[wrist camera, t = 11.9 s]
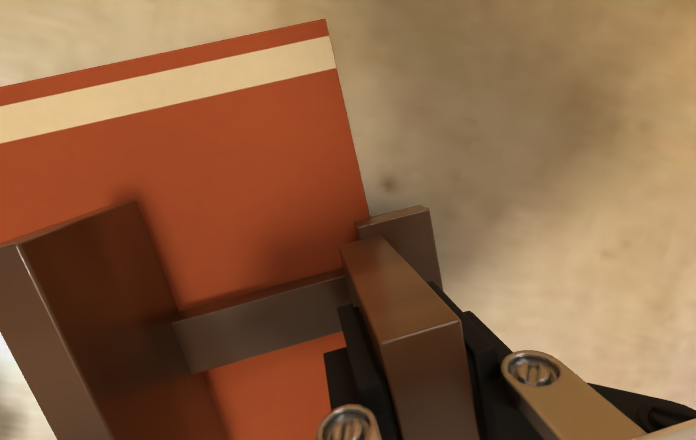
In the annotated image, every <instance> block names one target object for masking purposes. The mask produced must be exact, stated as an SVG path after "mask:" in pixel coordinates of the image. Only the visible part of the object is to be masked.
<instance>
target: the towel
mask: <svg viewBox="0 0 696 440" xmlns="http://www.w3.org/2000/svg"><path fill="white" fill-rule="evenodd" d="M130 200H136V201H137V204H138V206H139V209H140V211H141V214H142V217H143V219H144V222H145V225H146V227H147V230H148V232H149V235H150V238H151V240H152V243H153V245H154V248H155V251H156V253H157V256H158V258H159V261H160V264H161V266H162V269H163V272H164V274H165V277H166V279H167V282H168V285H169V287H170V290H171V292H172V295H173V298H174V300H175V303H176V306H177V308H178V311H179V312H180V311H184V310H187V309H191V308H195V307H198V306H202V305H206V304H209V303H213V302H217V301H220V300H224V299H228V298H232V297H235V296H239V295H243V294H246V293H250V292H254V291H257V290H261V289H265V288H268V287H272V286H276V285H279V284H283V283H287V282H291V281H294V280H298V279H302V278H305V277H309V276H313V275H316V274H320V273H324V272H327V271H331V270H335V269H338V268H342V267H343V264H342V260H341V256H340V252H339V246H340V245H344V244H348V243H351V242H355V241H357V237H356V232H355V228H354V222H356V221H360V220H364V219H368V218H370V215H369V211H368V206H367V202H366V198H365V193H364V189H363V184H362V180H361V175H360V171H359V166H358V162H357V158H356V153H355V149H354V144H353V140H352V135H351V131H350V126H349V122H348V118H347V113H346V109H345V104H344V100H343V95H342V91H341V86H340V82H339V78H338V73H337V69H336V64H335V59H334V55H333V51H332V46H331V42H330V37H329V33H328V29H327V24H326V20H325V19H322V20H317V21H312V22H307V23H303V24H298V25H293V26H288V27H284V28H279V29H274V30H269V31H265V32H260V33H255V34H250V35H246V36H241V37H236V38H231V39H227V40H222V41H217V42H212V43H208V44H203V45H198V46H193V47H189V48H184V49H179V50H174V51H170V52H165V53H160V54H155V55H151V56H146V57H141V58H136V59H132V60H127V61H122V62H117V63H113V64H108V65H103V66H98V67H94V68H89V69H84V70H79V71H75V72H70V73H65V74H60V75H56V76H51V77H46V78H41V79H37V80H32V81H27V82H22V83H18V84H13V85H8V86H3V87H0V243H2V242H5V241H7V240H10V239H13V238H16V237H19V236H22V235H25V234H28V233H30V232H33V231H36V230H39V229H42V228H45V227H48V226H51V225H53V224H56V223H59V222H62V221H65V220H68V219H71V218H74V217H77V216H79V215H82V214H85V213H88V212H91V211H94V210H97V209H100V208H102V207H105V206H109V205H114V204H118V203H122V202H126V201H130ZM343 347H347V346H346V343H345V339H344V335H343V331H342V332H338V333H335V334H331V335H328V336H324V337H321V338H318V339H314V340H311V341H307V342H304V343H300V344H297V345H293V346H290V347H286V348H283V349H279V350H276V351H272V352H269V353H266V354H262V355H259V356H255V357H252V358H248V359H245V360H241V361H238V362H234V363H231V364H227V365H224V366H220V367H217V368H213V369H210V370H207V371H203V372H202V373H203V376H204V379H205V381H206V384H207V387H208V389H209V392H210V394H211V397H212V400H213V402H214V405H215V407H216V410H217V413H218V415H219V418H220V421H221V423H222V426H223V428H224V431H225V434H226V436H227V439H228V440H316V432H317V428H318V425H319V423H320V421H321V420H322V419H323V418H324V416H325V415H326V414H328V413H329V412H330V411H331V406H330V399H329V392H328V385H327V378H326V371H325V364H324V356H323V353H326V352H330V351H333V350H337V349H340V348H343Z"/></svg>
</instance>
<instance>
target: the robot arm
mask: <svg viewBox="0 0 696 440" xmlns="http://www.w3.org/2000/svg"><path fill="white" fill-rule="evenodd" d="M426 283H427V284H428V285H429V286H430V288H431V289H432V290H433V291H434V292H435V293H436V294H437V295H438V296H439V297H440V298H441V299H442V300H443V301H444V303H445V304H446V305H447V306H448V307H449V308H450V309H451V310H452V311H453V312H454V313H455V314H456V315H457V316H458V318H459V319H460V320H461V324H462V330H463V336H464V342H465V348H466V354H467V360H468V367H469V373H470V379H471V385H472V391H473V397H474V403H475V409H476V415H477V421H478V427H479V433H480V439H481V440H696V410H693V409H691V408H689V407H687V406H685V405H682V404H678V403H675V402H672V401H668V400H663V399H659V398H654V397H650V396H645V395H641V394H636V393H632V392H627V391H623V390H618V389H614V388H609V387H605V386H600V385H595V384H591V383H586V382H585V381H583V380H582V379H581V378H580V377H579V376H577V375H576V374H575V373H574V372H573V371H571V370H570V369H569V368H568V367H567V366H565V365H564V364H563V363H562V362H560V361H559V360H558V359H556V358H555V357H553V356H551V355H549V354H546V353H543V352H539V351H533V350H523V351H518V352H514V353H513V352H512V351H511V350H510V349H509V348H508V347H507V346H506V345H505V344H504V343H503V342H502V341H501V340H500V339H499V338H498V337H497V336H496V335H495V334H494V333H493V332H492V331H491V330H490V329H489V328H488V327H487V326H486V325H485V324H484V323H483V322H482V321H481V320H479V319H478V318H477V317H476V316H475V315H474V314H473V313H472V312H471V311H466V312H462V311H461V310H460V309H459V308H458V307H457V306H456V305H455V304H454V303H453V301H452V300H451V299H450V298H449V297H448V296H447V295H446V294H445V293H444V292H443V291H442V290H441V289H440V288H439V287H438V286H437V285H436V284H435V283H434V282H433V281H429V282H426ZM337 312H338V316H339V319H340V323H341V327H342V331H343V335H344V339H345V343H346V346H347V347H343V348H340V349H337V350H333V351H330V352H326V353H323V356H324V364H325V371H326V378H327V385H328V392H329V399H330V406H331V411H330V412H329V413H328V414H326V415H325V416H324V418H323V419H322V420H321V421H320V423H319V425H318V428H317V432H316V440H400V436H399V431H398V427H397V423H396V418H395V414H394V410H393V405H392V401H391V397H390V393H389V389H388V385H387V382H386V378H385V375H384V373H383V370H382V367H381V365H380V362H379V360H378V357H377V354H376V352H375V349H374V347H373V344H372V341H371V339H370V336H369V334H368V331H367V328H366V326H365V323H364V321H363V318H362V315H361V313H360V310H359V308H358V306H357V307H353V304H352V303H351V304H348V305H344V306H341V307H337Z"/></svg>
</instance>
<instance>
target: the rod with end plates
mask: <svg viewBox="0 0 696 440" xmlns="http://www.w3.org/2000/svg"><path fill="white" fill-rule="evenodd" d="M354 228H355V232H356V237H357V241H355V242H351V243H348V244H344V245H340V246H339V252H340V256H341V260H342V264H343V267H342V268H338V269H335V270H331V271H327V272H324V273H320V274H316V275H313V276H309V277H305V278H302V279H298V280H294V281H291V282H287V283H283V284H279V285H276V286H272V287H268V288H265V289H261V290H257V291H254V292H250V293H246V294H243V295H239V296H235V297H232V298H228V299H224V300H220V301H217V302H213V303H209V304H206V305H202V306H198V307H195V308H191V309H187V310H184V311H180V312H179V311H178V308H177V306H176V303H175V300H174V298H173V295H172V292H171V290H170V287H169V285H168V282H167V279H166V277H165V274H164V272H163V269H162V266H161V264H160V261H159V258H158V256H157V253H156V251H155V248H154V245H153V243H152V240H151V238H150V235H149V232H148V230H147V227H146V225H145V222H144V219H143V217H142V214H141V211H140V209H139V206H138V204H137V201H136V200H130V201H126V202H122V203H118V204H114V205H109V206H105V207H102V208H100V209H97V210H94V211H91V212H88V213H85V214H82V215H79V216H77V217H74V218H71V219H68V220H65V221H62V222H59V223H56V224H53V225H51V226H48V227H45V228H42V229H39V230H36V231H33V232H30V233H28V234H25V235H22V236H19V237H16V238H13V239H10V240H7V241H5V242H2V243H0V332H1V334H2V336H3V338H4V340H5V342H6V344H7V345H8V347H9V349H10V351H11V353H12V355H13V357H14V359H15V361H16V362H17V364H18V366H19V368H20V370H21V372H22V374H23V376H24V378H25V379H26V381H27V383H28V385H29V387H30V389H31V391H32V393H33V394H34V396H35V398H36V400H37V402H38V404H39V406H40V408H41V410H42V411H43V413H44V415H45V417H46V419H47V421H48V423H49V425H50V427H51V428H52V430H53V432H54V434H55V436H56V438H57V440H228V439H227V436H226V434H225V431H224V428H223V426H222V423H221V421H220V418H219V415H218V413H217V410H216V407H215V405H214V402H213V400H212V397H211V394H210V392H209V389H208V387H207V384H206V381H205V379H204V376H203V373H202V372H203V371H207V370H210V369H213V368H217V367H220V366H224V365H227V364H231V363H234V362H238V361H241V360H245V359H248V358H252V357H255V356H259V355H262V354H266V353H269V352H272V351H276V350H279V349H283V348H286V347H290V346H293V345H297V344H300V343H304V342H307V341H311V340H314V339H318V338H321V337H324V336H328V335H331V334H335V333H338V332H342V327H341V323H340V319H339V316H338V312H337V307H341V306H344V305H348V304H351V303H352V304H353V307H357V306H358V308H359V310H360V313H361V315H362V318H363V321H364V323H365V326H366V328H367V331H368V334H369V336H370V339H371V341H372V344H373V347H374V349H375V352H376V354H377V357H378V360H379V362H380V365H381V367H382V370H383V373H384V375H385V378H386V382H387V385H388V389H389V393H390V397H391V401H392V405H393V410H394V414H395V418H396V423H397V427H398V431H399V436H400V440H481V439H480V433H479V427H478V421H477V415H476V409H475V403H474V397H473V391H472V385H471V379H470V373H469V367H468V360H467V354H466V348H465V342H464V336H463V330H462V324H461V320H460V319H459V318H458V316H457V315H456V314H455V313H454V312H453V311H452V310H451V309H450V308H449V307H448V306H447V305H446V304H445V303H444V301H443V300H442V299H441V298H440V297H439V296H438V295H437V294H436V293H435V292H434V291H433V290H432V289H431V288H430V286H429V285H428V284H427V283H426V282H429V281H433V282H434V283H435V284H436V285H437V286H438V287H439V288H440V289H441V290H442V291H443V287H442V281H441V275H440V270H439V264H438V258H437V252H436V247H435V241H434V235H433V229H432V224H431V218H430V212H429V209H428V208H426V207H424V206H422V205H418V206H414V207H410V208H406V209H403V210H399V211H395V212H391V213H387V214H383V215H380V216H376V217H372V218H368V219H364V220H360V221H356V222H354Z"/></svg>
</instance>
